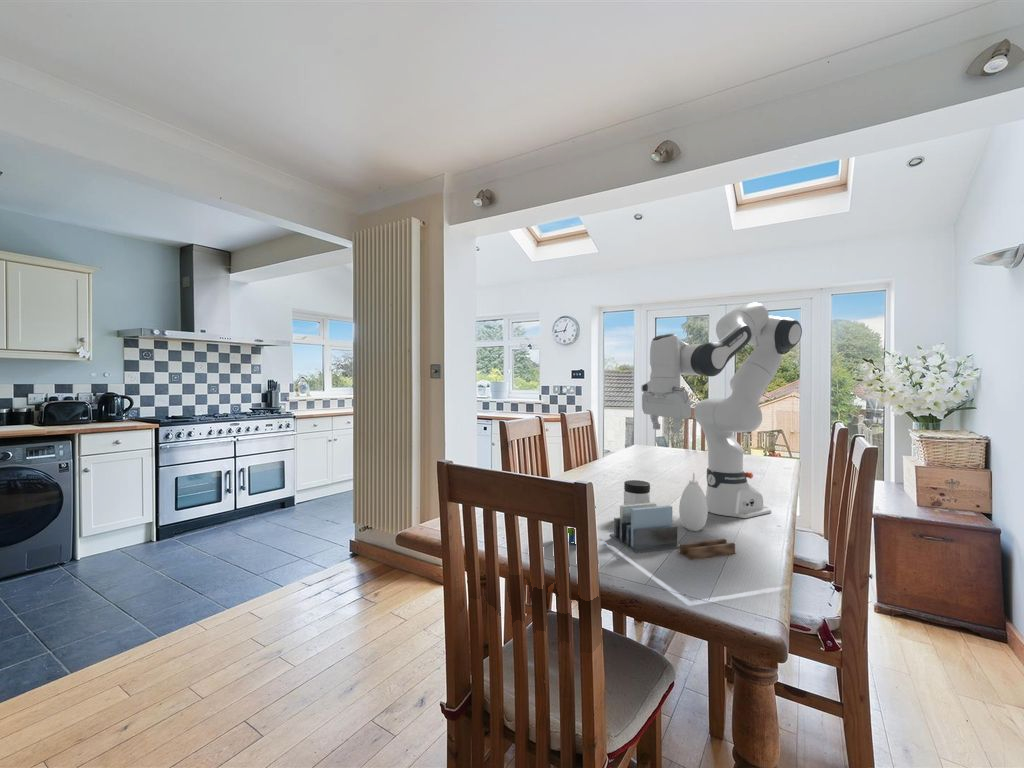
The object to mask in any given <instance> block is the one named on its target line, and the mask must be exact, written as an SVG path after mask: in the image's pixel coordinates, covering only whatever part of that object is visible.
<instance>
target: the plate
mask: <svg viewBox="0 0 1024 768" xmlns="http://www.w3.org/2000/svg"><path fill="white" fill-rule="evenodd" d="M672 525H673V506H672V505H670V504H669V505H658V506H657V505H656V506H655V507H645V508H634V509H631V546H632V547H633V530H635V529H644V528H654V527H663V526H672Z"/></svg>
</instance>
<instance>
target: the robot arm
mask: <svg viewBox="0 0 1024 768" xmlns="http://www.w3.org/2000/svg"><path fill="white" fill-rule="evenodd" d="M802 329H803V328H802V325H801V323H800V322H799V321H798V320H797V319H793V318H792V317H782V316H774V315H769V311H768V309H767V307H766V306H764V305H763V304H762V303H758V302H750V303H746V304H743V305H740V306H739V307H736V308H735V309H732V310H730V312H728V313H726V314H725V315H723V316H722V317H721V318H720V319H719V320H718V321H717V323H716V327H715V333H716V336H717V338H718V341H710V342H704V343H695V344H694V343H693V344H688V343H686V342H685V341H683V340H681V339H680V338H679V337H678V334H675V333H666V334H660V335H657V336H654V337H653V338H652V340H651V343H650V348H649V365H650V370H651V373H650V375H649V377H650V380H649V381H646V383H643V384H642V385H641V386H640V389H641V392H642V393H641V410H642V412H643V414H644V415H649V417H650V421H651V422H652V429H653V430H657V431H659V430H661V423H660V422H659V417H662V418H663V417H664V418H669V419H672V421H673V426H672V427H671V433H672V434H679V433H680V427H681V425H682V423H683V420H689V419H690V418H691V416H692V407H691V405H692V404H691V398H690V396H689V392H688V391H687V390H686V388H685V387H681V376H703V377H716V376H718V375H719V374H720V373H722V372H723V370H724V369H725V367H726V365H727V364H728V363H729V361H730V360H731V359H732V358H733V357H734V356H735V355H737V354H738V353H739V352H740V351H742V349H743V348H744V347H745V346H748V345H749V346H751V347H753V346H754V347H753V350H752V352H751V353H750V354H749V355H748V356H747V358H746V359H745V360H744V361H743V362H742V363H741V365H740V366H739V368H738V369H737V371H736V372H735V373H734V375H733V376H732V377H731V378H730V381H729V386H730V389H731V390H732V392H731V394H730V396H729V397H727V398H717V397H710V398H709V397H708V398H706V399H702V400H700V401H699V402H697V403H696V404H695V407H694V409H693V417H694V419H695V420H696V422H697V423H698V424H699V426H700V427H701V429H702V431H703V434H704V436H705V437H704V438H705V440H706V446H707V453H708V454H707V456H708V457H707V468H706V482H707V484H706V491H705V498H706V502H707V508H708V513H710V514H715V515H720V516H727V517H735V518H741V519H749V518H752V517H753V518H754V517H757V516H762V515H767V514H771V513H772V509H771V508H769V507H768V506H766V505H764V498H763V494H762V493H761V492H760V491H759V490H758V489H756V488H755V487H754V486H753V485H752V484H750V483H749V482H748V479H753V478H754V474H753V472H749V471H746V472H745V471H744V449H743V447H742V446H741V445H740V443H739V442H738V441H737V440H736V437H735V435H734V433H739V434H740V433H750V432H751V433H752V432H755V431H756V430H757V429H758V428H759V427H760V426H761V424H762V422H763V412H762V410H761V408H760V407H759V405H760V404H759V403H760V400H761V398H762V395H763V394H764V392H765V391H766V389H767V388H768V387H769V385H770V383H771V382H772V381H773V379H774V377H775V376H776V375H777V372H778V370H779V368H780V367H781V364H782V360H783V358H782V355H785V354H787V353H789V352H790V351H791V350H793V348H795V347H796V346H797V344H799V342H800V340H801V339H802V338H801V337H802V336H803V335H802V333H803V330H802ZM733 432H734V433H733ZM747 478H748V479H747Z"/></svg>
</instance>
